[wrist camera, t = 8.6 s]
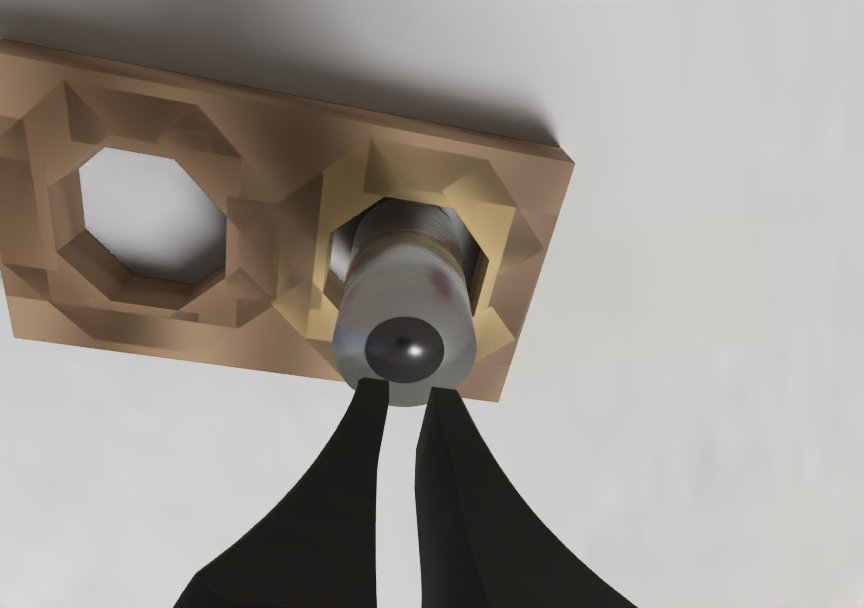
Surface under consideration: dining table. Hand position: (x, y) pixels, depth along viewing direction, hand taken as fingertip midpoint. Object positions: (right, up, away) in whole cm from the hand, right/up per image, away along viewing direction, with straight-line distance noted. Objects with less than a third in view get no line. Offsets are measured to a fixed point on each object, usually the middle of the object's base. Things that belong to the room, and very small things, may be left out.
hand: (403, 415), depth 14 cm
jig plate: (-5, +5, +8) cm, 10 cm away
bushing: (0, +5, +8) cm, 9 cm away
